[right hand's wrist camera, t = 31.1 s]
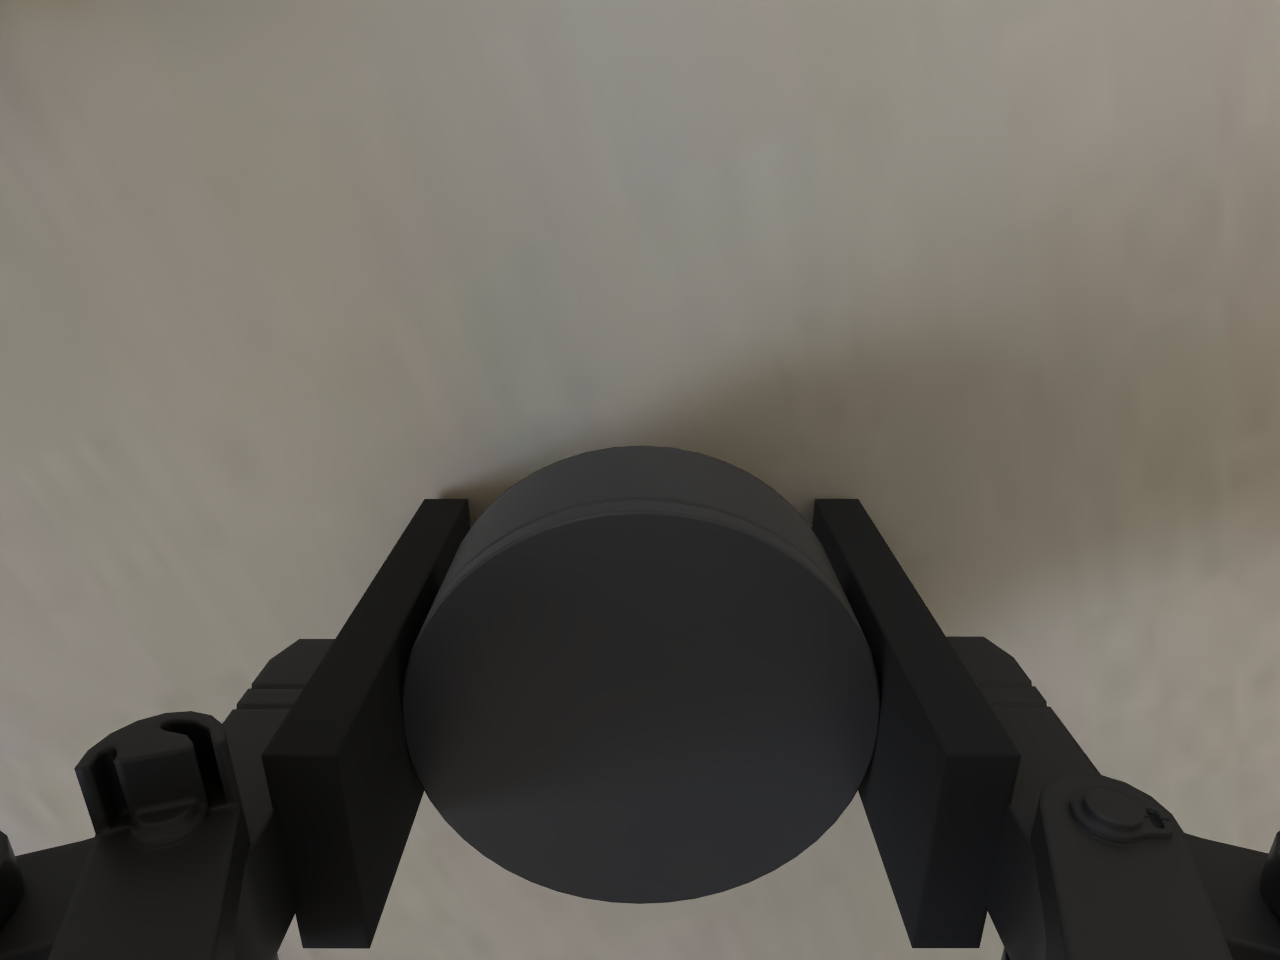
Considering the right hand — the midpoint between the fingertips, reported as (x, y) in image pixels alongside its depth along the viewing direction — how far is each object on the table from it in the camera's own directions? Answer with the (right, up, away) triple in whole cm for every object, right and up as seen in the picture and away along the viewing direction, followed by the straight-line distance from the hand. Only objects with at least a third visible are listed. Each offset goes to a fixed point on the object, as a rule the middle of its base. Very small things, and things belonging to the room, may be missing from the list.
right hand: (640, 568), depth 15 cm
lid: (0, -1, -4) cm, 4 cm away
